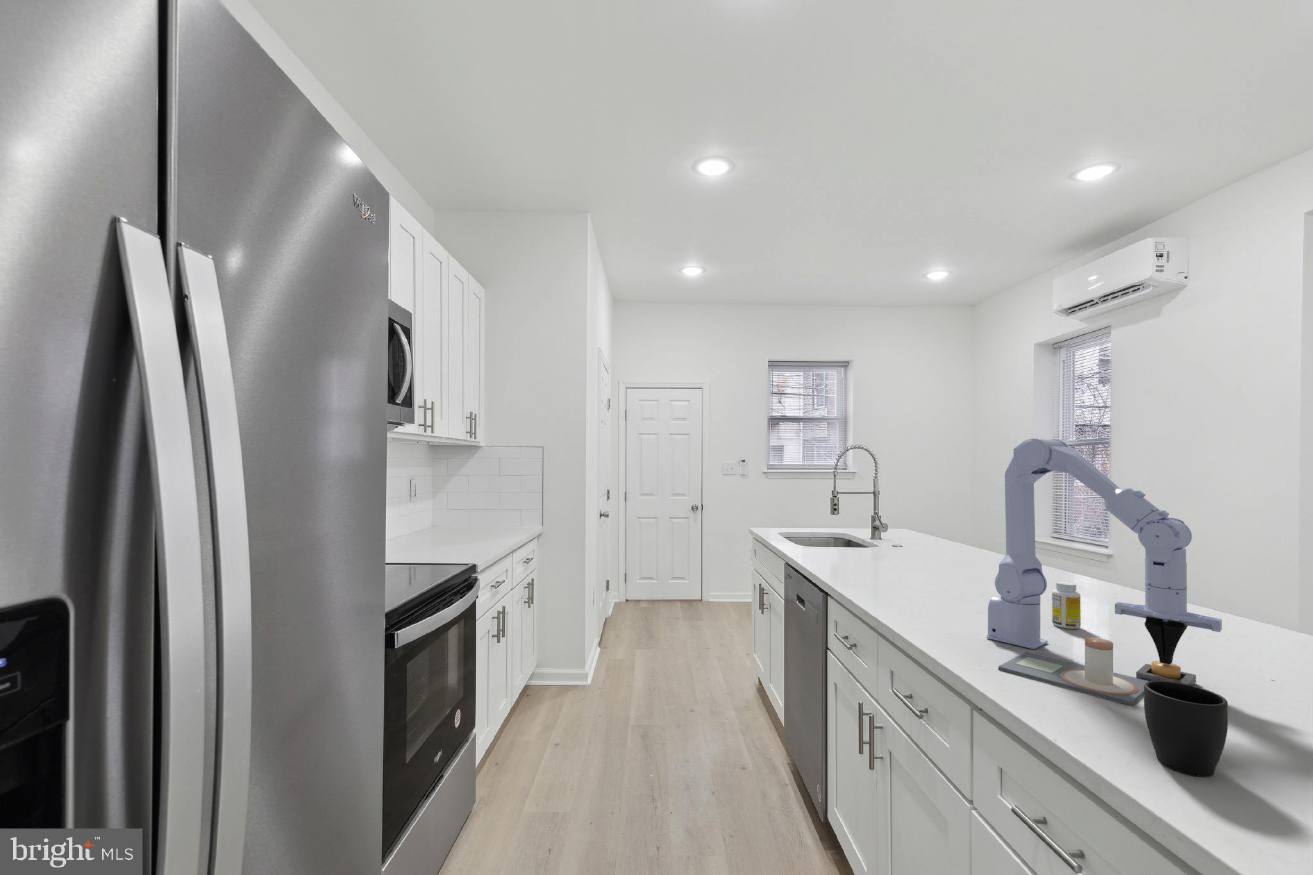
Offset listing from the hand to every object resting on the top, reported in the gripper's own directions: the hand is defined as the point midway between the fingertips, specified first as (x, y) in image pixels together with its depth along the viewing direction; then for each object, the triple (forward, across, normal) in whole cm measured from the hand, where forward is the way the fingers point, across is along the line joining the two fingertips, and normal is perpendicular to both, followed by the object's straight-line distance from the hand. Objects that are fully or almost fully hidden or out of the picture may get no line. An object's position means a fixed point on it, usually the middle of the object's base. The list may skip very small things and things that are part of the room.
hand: (1166, 662), depth 107 cm
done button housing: (+3, 0, 0) cm, 3 cm away
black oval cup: (+4, +8, -34) cm, 35 cm away
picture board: (+3, -11, -11) cm, 16 cm away
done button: (+2, 0, 0) cm, 2 cm away
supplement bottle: (+4, -23, +26) cm, 35 cm away
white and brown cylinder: (+3, -7, -12) cm, 14 cm away
